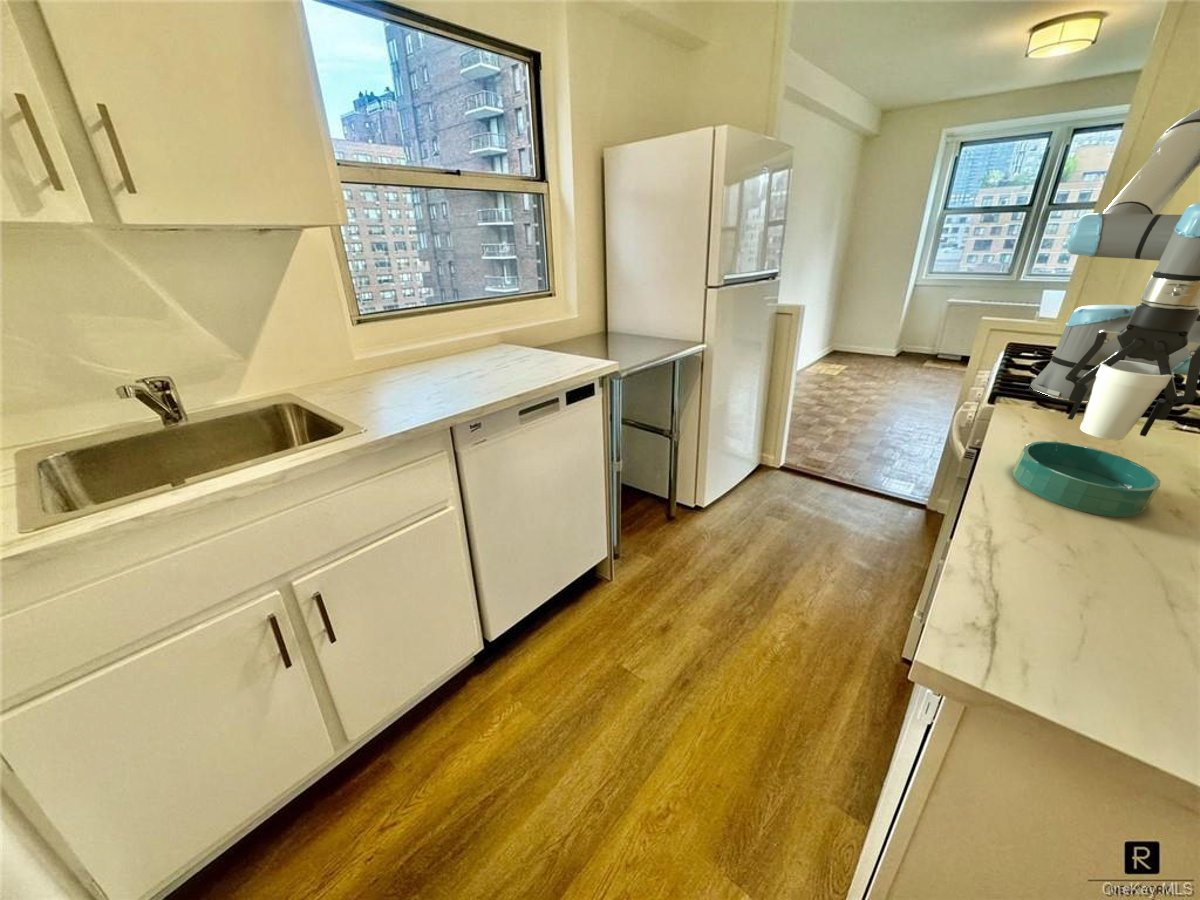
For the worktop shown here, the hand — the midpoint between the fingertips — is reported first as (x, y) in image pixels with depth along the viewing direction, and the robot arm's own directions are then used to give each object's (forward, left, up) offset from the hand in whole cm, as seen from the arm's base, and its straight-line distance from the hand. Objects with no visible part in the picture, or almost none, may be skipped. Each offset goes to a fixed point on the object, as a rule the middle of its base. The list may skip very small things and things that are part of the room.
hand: (1105, 425), depth 92 cm
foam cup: (0, 0, -2) cm, 2 cm away
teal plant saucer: (+17, 0, -7) cm, 19 cm away
